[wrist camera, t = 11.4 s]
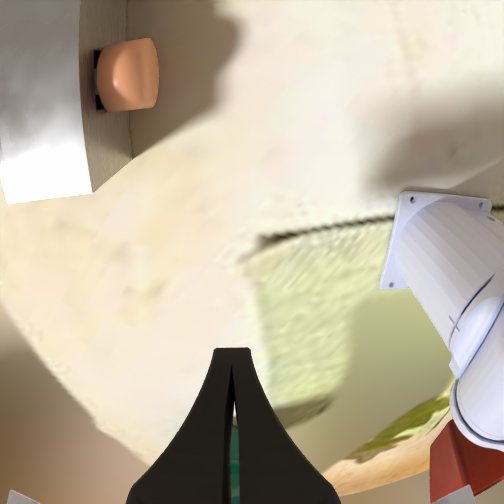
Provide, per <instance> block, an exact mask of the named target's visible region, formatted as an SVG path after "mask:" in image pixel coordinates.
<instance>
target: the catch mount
mask: <svg viewBox="0 0 504 504" xmlns="http://www.w3.org/2000/svg"><path fill="white" fill-rule="evenodd" d="M126 18H127V0H0V175H1V180H2V185H3V189H4V193H5V197H6V201H7V204H11V203H17V202H24V201H31V200H39V199H46V198H55V197H63V196H72V195H81V194H91V193H93V192H95V191H96V190H97V189H98V188H99V187H100V186H101V185H103V184H104V183H105V182H106V181H107V180H108V179H110V178H111V177H112V176H113V175H114V174H115V173H117V172H118V171H119V170H120V169H121V168H123V167H124V166H125V165H126V164H128V163H129V162H130V161H131V160H133V155H132V145H131V135H130V123H129V110H128V111H122V112H115V113H110V112H108V111H107V110H106V109H105V107H104V106H103V104H102V102H101V99H100V96H99V94H98V95H95V81H94V69H96V68H97V64H98V60H99V56H100V54H101V52H102V50H103V49H104V48H105V47H106V46H107V45H112V44H116V43H121V42H126Z"/></svg>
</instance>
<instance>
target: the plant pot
mask: <svg viewBox="0 0 504 504" xmlns="http://www.w3.org/2000/svg"><path fill="white" fill-rule="evenodd" d="M503 479H504V452H503V451H501V450H497V449H493V448H486V447H482V446H479V445H477V444H475V443H473V442H471V441H470V440H469V439H468V438H466V437H465V436H464V435H463V434H462V432H461V431H460V430H459V428H458V427H457V425H456V424H455V422H454V420H452V421H450V422H449V423H448V424H447V425H446V426H445V428H444V429H443V430H442V432H441V433H440V435H439V436H438V437H437V439H436V440H435V441H434V443H433V444H432V445H431V447H430V498H431V503H434V502H436V501H437V500H439V499H440V498H442V497H444V496H446V495H448V494H450V493H452V492H454V491H457V490H459V489H461V488H463V487H465V486H467V485H470V486H471V489H472V492H473V495H474V497H475V496H476V495H478V494H480V493H482V492H483V491H485V490H487V489H489V488H490V487H492V486H494V485H495V484H497V483H499V482H500V481H502V480H503Z"/></svg>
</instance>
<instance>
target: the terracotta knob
mask: <svg viewBox="0 0 504 504" xmlns="http://www.w3.org/2000/svg"><path fill="white" fill-rule="evenodd" d="M94 81H95V95H98V94H99V96H100V99H101V102H102V104H103V106H104V107H105V109H106V110H107V111H108V112H110V113H115V112H122V111H128V110H136V109H144V108H152V107H153V106H154V105H155V103H156V100H157V96H158V89H159V64H158V56H157V51H156V48H155V45H154V43H153V41H152V40H151V39H150V38H143V39H137V40H131V41H126V42H121V43H116V44H112V45H107V46H106V47H105V48H104V49H103V50H102V52H101V54H100V56H99V60H98V64H97V68H96V69H94Z"/></svg>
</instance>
